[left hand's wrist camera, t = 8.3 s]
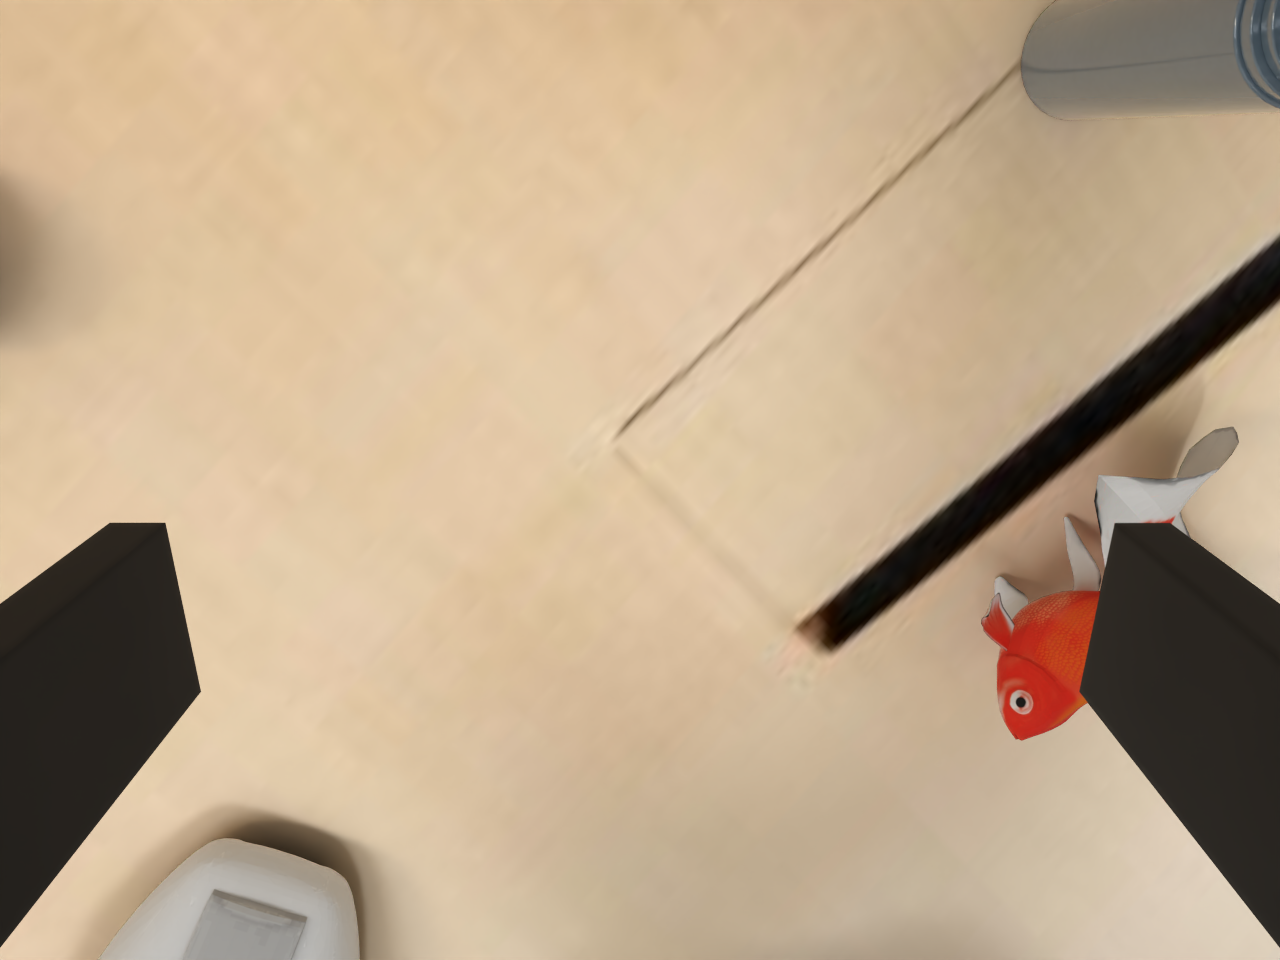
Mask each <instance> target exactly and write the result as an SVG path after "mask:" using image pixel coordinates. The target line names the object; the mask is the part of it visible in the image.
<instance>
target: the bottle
mask: <svg viewBox="0 0 1280 960" xmlns="http://www.w3.org/2000/svg"><path fill="white" fill-rule="evenodd" d="M1021 72H1022V79H1023V83H1024V87H1025V89H1026V92H1027V94H1028V95H1029V97H1030V99H1031V100H1032V101H1033V103H1034V104H1035V105H1036V106H1037V107H1038V108H1039V109H1040V110H1041V111H1043V112H1044V113H1046V114H1048V115H1050V116H1052V117H1054V118H1058V119H1062V120H1096V119H1125V118H1154V117H1183V116H1212V115H1242V114H1271V113H1280V0H1056V1H1055V2H1054V3H1052V4H1051V5H1050V6H1049V7H1048V8H1047V9H1046V10H1045V11H1044V12H1043V13H1042V14H1041V15H1040V16H1039V17H1038V19H1037V20H1036V22H1035V23H1034V25H1033V26H1032V28H1031V30H1030V32H1029V34H1028V36H1027V39H1026V41H1025V44H1024V48H1023V52H1022V59H1021Z"/></svg>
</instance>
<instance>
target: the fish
mask: <svg viewBox="0 0 1280 960" xmlns="http://www.w3.org/2000/svg"><path fill="white" fill-rule="evenodd" d="M1238 443H1239V440H1238V435H1237V432H1236V430H1235V429H1234V427H1228V428H1222V429H1216V430H1214V431H1212V432H1211V433H1209V434H1208V435H1207V436H1205V437H1204V438H1203V439H1201V440H1200V441H1199V442H1198V443H1197V444H1195V445H1194V446H1193V447H1192V448H1191V449H1189V451H1188V453H1187V455H1186V457H1185V459H1184V461H1183V463H1182V465H1181V467H1180V469H1179V472H1178V475H1177V478H1172V479H1149V478H1137V477H1122V476H1106V475H1098V481H1097V487H1096V493H1095V500H1094V502H1095V507H1096V512H1097V518H1098V523H1099V528H1100V533H1101V543H1102V552H1103V558H1104V564H1105V567H1106V562H1107V557H1108V552H1109V548H1110V543H1111V538H1112V533H1113V529H1114V524H1115V523H1171V524H1172V525H1174V526H1175V527H1176V528H1178V529H1179V530H1180V531H1182V532H1183V533H1184V534H1186V535H1187V536H1188V537H1190V535H1189V533H1188V531H1187V529H1186V526H1185V524H1184V522H1183V520H1182V516H1181V513H1180V511H1181V510H1182V508H1183V507H1184V505H1185V504H1186V503H1187V501H1188V500H1189V499H1190V498H1191V496H1192V495H1193V494H1194V493H1195V492H1196V491H1197V489H1198V488H1199V487H1200V486H1201V485H1202V484H1203V483H1204V482H1205V481H1206V480H1207V479H1208V478H1209V477H1210V476H1211V475H1213V474H1214V473H1215V472H1217V471H1218V470H1219V469H1220V468H1221V466H1222V465H1223V464H1224V463H1225V462H1226V461H1227V459H1228V458H1229V457H1230V456H1231V455H1232V453H1233V451H1234V450H1235V448H1236V446H1237V445H1238ZM1064 524H1065V533H1066V544H1067V551H1068V556H1069V560H1070V564H1071V567H1072V572H1073V577H1074V586H1073V591H1064V592H1058V593H1054V594H1051V595H1048V596H1045V597H1042V598H1040V599H1037V600H1035V601H1033V602H1031V603H1029V604H1028V599H1027V597H1026V595H1025V594H1024V593H1022V592H1021V591H1019V590H1018V589H1016V588H1015V587H1013V586H1012V585H1011V584H1010V583H1009V582H1008V581H1006V580H1005V579H1004V578H1003V577H998V578H996V579H995V584H994V590H995V597H994V598H993V599H992V600H991V603H990V606H989V608H988V610H987V612H986V614H985V616H984V617H983V618H982V620H981V624H982V626H983V627H984V632H985V633H986V634H987V635H988V636H989V637H990V638H991V639H992V640H993V641H994V642H996V643H997V644H998V645H999V646H1000V651H999V659H998V663H997V694H998V703H999V708H1000V712H1001V715H1002V717H1003V720H1004V722H1005V724H1006V725H1007V727H1008V729H1009V730H1010V732H1011V733H1012V734H1013V736H1014V737H1015V739H1019V740H1025V739H1027V738H1030V737H1033V736H1036V735H1039V734H1042V733H1045V732H1047V731H1049V730H1052V729H1054V728H1056V727H1058V726H1060V725H1061V724H1063V723H1064V722H1066V721H1067V720H1068V719H1069V718H1070V717H1071V716H1072V715H1073V714H1074V713H1075V712H1076V711H1077V710H1078V709H1079V708H1080V707H1082V706H1083V705H1085V704H1087V703H1088V702H1087V701H1086V700H1085V698H1084V697H1083V696H1082V695H1081V693H1080V692H1079V690H1080V685H1081V680H1082V676H1083V671H1084V666H1085V661H1086V657H1087V652H1088V647H1089V642H1090V638H1091V633H1092V628H1093V623H1094V619H1095V614H1096V609H1097V604H1098V600H1099V595H1100V591H1098V590H1099V587H1100V582H1101V576H1100V571H1099V569H1098V567H1097V565H1096V563H1095V561H1094V560H1093V558H1092V557H1091V555H1090V554H1089V552H1088V550H1087V549H1086V547H1085V546H1084V544H1083V543H1082V541H1081V539H1080V537H1079V536H1078V534H1077V532H1076V530H1075V529H1074V527H1073V525H1072V523H1071V521H1070V519H1069V518H1068V517H1064Z"/></svg>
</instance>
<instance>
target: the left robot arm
mask: <svg viewBox="0 0 1280 960" xmlns="http://www.w3.org/2000/svg"><path fill="white" fill-rule="evenodd" d="M200 692H201V690H200V685H199V680H198V676H197V671H196V666H195V661H194V657H193V652H192V647H191V642H190V638H189V633H188V628H187V623H186V619H185V614H184V609H183V605H182V600H181V595H180V590H179V586H178V581H177V576H176V571H175V567H174V562H173V557H172V552H171V548H170V543H169V538H168V533H167V529H166V524H165V523H109V524H108V525H106V526H105V527H104V528H102V529H101V530H100V531H98V532H97V533H96V534H94V535H93V536H92V537H90V538H89V539H87V540H86V541H85V542H83V543H82V544H81V545H79V546H78V547H77V548H75V549H74V550H73V551H71V552H70V553H68V554H67V555H66V556H64V557H63V558H62V559H60V560H59V561H58V562H56V563H55V564H54V565H52V566H51V567H50V568H48V569H47V570H45V571H44V572H43V573H41V574H40V575H39V576H37V577H36V578H35V579H33V580H32V581H31V582H29V583H28V584H27V585H25V586H24V587H22V588H21V589H20V590H18V591H17V592H16V593H14V594H13V595H12V596H10V597H9V598H8V599H6V600H5V601H4V602H2V603H1V604H0V947H1V946H2V945H3V943H4V942H5V941H6V940H7V938H8V937H9V936H10V934H11V933H12V932H13V931H14V929H15V928H16V927H17V926H18V924H19V923H20V922H21V920H22V919H23V918H24V917H25V915H26V914H27V913H28V911H29V910H30V909H31V908H32V906H33V905H34V904H35V903H36V901H37V900H38V899H39V897H40V896H41V895H42V894H43V892H44V891H45V890H46V889H47V887H48V886H49V885H50V883H51V882H52V881H53V880H54V878H55V877H56V876H57V874H58V873H59V872H60V871H61V869H62V868H63V867H64V866H65V864H66V863H67V862H68V860H69V859H70V858H71V857H72V855H73V854H74V853H75V852H76V850H77V849H78V848H79V846H80V845H81V844H82V843H83V841H84V840H85V839H86V837H87V836H88V835H89V834H90V832H91V831H92V830H93V829H94V827H95V826H96V825H97V823H98V822H99V821H100V820H101V818H102V817H103V816H104V815H105V813H106V812H107V811H108V809H109V808H110V807H111V806H112V804H113V803H114V802H115V800H116V799H117V798H118V797H119V795H120V794H121V793H122V792H123V790H124V789H125V788H126V786H127V785H128V784H129V783H130V781H131V780H132V779H133V778H134V776H135V775H136V774H137V772H138V771H139V770H140V769H141V767H142V766H143V765H144V763H145V762H146V761H147V760H148V758H149V757H150V756H151V755H152V753H153V752H154V751H155V749H156V748H157V747H158V746H159V744H160V743H161V742H162V741H163V739H164V738H165V737H166V735H167V734H168V733H169V732H170V730H171V729H172V728H173V726H174V725H175V724H176V723H177V721H178V720H179V719H180V718H181V716H182V715H183V714H184V712H185V711H186V710H187V709H188V707H189V706H190V705H191V704H192V702H193V701H194V700H195V698H196V697H197V696H198V695H199V693H200ZM1079 692H1080V693H1081V695H1082V696H1083V697H1084V698H1085V700H1086V701H1087V702H1088V704H1089V705H1090V706H1091V707H1092V709H1093V710H1094V711H1095V712H1096V714H1097V715H1098V716H1099V718H1100V719H1101V720H1102V721H1103V723H1104V724H1105V725H1106V726H1107V728H1108V729H1109V730H1110V732H1111V733H1112V734H1113V735H1114V737H1115V738H1116V739H1117V741H1118V742H1119V743H1120V744H1121V746H1122V747H1123V748H1124V749H1125V751H1126V752H1127V753H1128V755H1129V756H1130V757H1131V758H1132V760H1133V761H1134V762H1135V763H1136V765H1137V766H1138V767H1139V769H1140V770H1141V771H1142V772H1143V774H1144V775H1145V776H1146V778H1147V779H1148V780H1149V781H1150V783H1151V784H1152V785H1153V786H1154V788H1155V789H1156V790H1157V792H1158V793H1159V794H1160V795H1161V797H1162V798H1163V799H1164V800H1165V802H1166V803H1167V804H1168V806H1169V807H1170V808H1171V809H1172V811H1173V812H1174V813H1175V815H1176V816H1177V817H1178V818H1179V820H1180V821H1181V822H1182V823H1183V825H1184V826H1185V827H1186V829H1187V830H1188V831H1189V832H1190V834H1191V835H1192V836H1193V837H1194V839H1195V840H1196V841H1197V843H1198V844H1199V845H1200V846H1201V848H1202V849H1203V850H1204V852H1205V853H1206V854H1207V855H1208V857H1209V858H1210V859H1211V860H1212V862H1213V863H1214V864H1215V866H1216V867H1217V868H1218V869H1219V871H1220V872H1221V873H1222V874H1223V876H1224V877H1225V878H1226V880H1227V881H1228V882H1229V883H1230V885H1231V886H1232V887H1233V889H1234V890H1235V891H1236V892H1237V894H1238V895H1239V896H1240V897H1241V899H1242V900H1243V901H1244V903H1245V904H1246V905H1247V906H1248V908H1249V909H1250V910H1251V911H1252V913H1253V914H1254V915H1255V917H1256V918H1257V919H1258V920H1259V922H1260V923H1261V924H1262V926H1263V927H1264V928H1265V929H1266V931H1267V932H1268V933H1269V934H1270V936H1271V937H1272V938H1273V940H1274V941H1275V942H1276V943H1277V945H1278V946H1279V947H1280V604H1279V603H1278V602H1276V601H1275V600H1274V599H1272V598H1271V597H1270V596H1268V595H1267V594H1266V593H1264V592H1263V591H1262V590H1260V589H1259V588H1258V587H1256V586H1255V585H1253V584H1252V583H1251V582H1249V581H1248V580H1247V579H1245V578H1244V577H1243V576H1241V575H1240V574H1239V573H1237V572H1236V571H1235V570H1233V569H1232V568H1230V567H1229V566H1228V565H1226V564H1225V563H1224V562H1222V561H1221V560H1220V559H1218V558H1217V557H1216V556H1214V555H1213V554H1212V553H1210V552H1209V551H1207V550H1206V549H1205V548H1203V547H1202V546H1201V545H1199V544H1198V543H1197V542H1195V541H1194V540H1193V539H1191V538H1190V537H1188V536H1187V535H1186V534H1184V533H1183V532H1182V531H1180V530H1179V529H1178V528H1176V527H1175V526H1174V525H1172V524H1171V523H1115V524H1114V529H1113V533H1112V538H1111V543H1110V548H1109V552H1108V557H1107V562H1106V567H1105V571H1104V576H1103V581H1102V586H1101V590H1100V595H1099V600H1098V604H1097V609H1096V614H1095V619H1094V623H1093V628H1092V633H1091V638H1090V642H1089V647H1088V652H1087V657H1086V661H1085V666H1084V671H1083V676H1082V680H1081V685H1080V690H1079Z"/></svg>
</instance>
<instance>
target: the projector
mask: <svg viewBox="0 0 1280 960" xmlns="http://www.w3.org/2000/svg"><path fill="white" fill-rule="evenodd" d="M98 960H360V949H359V934H358V925H357V916H356V910H355V905H354V900H353V895H352V892H351V889H350V886H349V884H348V882H347V881H346V880H345V878H344V877H343V876H342V875H340V874H339V873H338V872H336V871H335V870H333V869H331V868H329V867H325V866H321V865H319V864H316V863H314V862H311V861H309V860H306V859H303V858H301V857H298V856H295V855H292V854H289V853H286V852H283V851H280V850H276V849H273V848H269V847H265V846H262V845H257V844H253V843H248V842H244V841H242V840H240V839H232V838H222V839H217V840H214V841H211V842H209V843H207V844H206V845H204V846H203V847H201V848H200V849H198V850H197V851H196V852H194V853H193V854H192V855H191V856H189V857H188V858H187V859H186V860H185V861H184V862H182V863H181V864H180V865H179V866H178V867H177V868H176V869H175V870H174V871H172V872H171V873H170V874H169V875H168V876H167V877H166V878H165V879H164V880H163V881H162V882H161V883H160V884H159V885H158V886H157V887H156V888H155V889H154V890H153V892H152V893H151V894H150V895H149V896H148V897H147V898H146V899H145V900H144V901H143V903H142V904H141V905H140V906H139V907H138V908H137V909H136V911H135V912H134V913H133V914H132V915H131V917H130V918H129V919H128V920H127V921H126V923H125V924H124V925H123V926H122V927H121V929H120V930H119V931H118V933H117V934H116V935H115V937H114V938H113V939H112V941H111V942H110V943H109V945H108V946H107V947H106V949H105V950H104V952H103V953H102V954H101V956H100V957H99V959H98Z"/></svg>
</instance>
